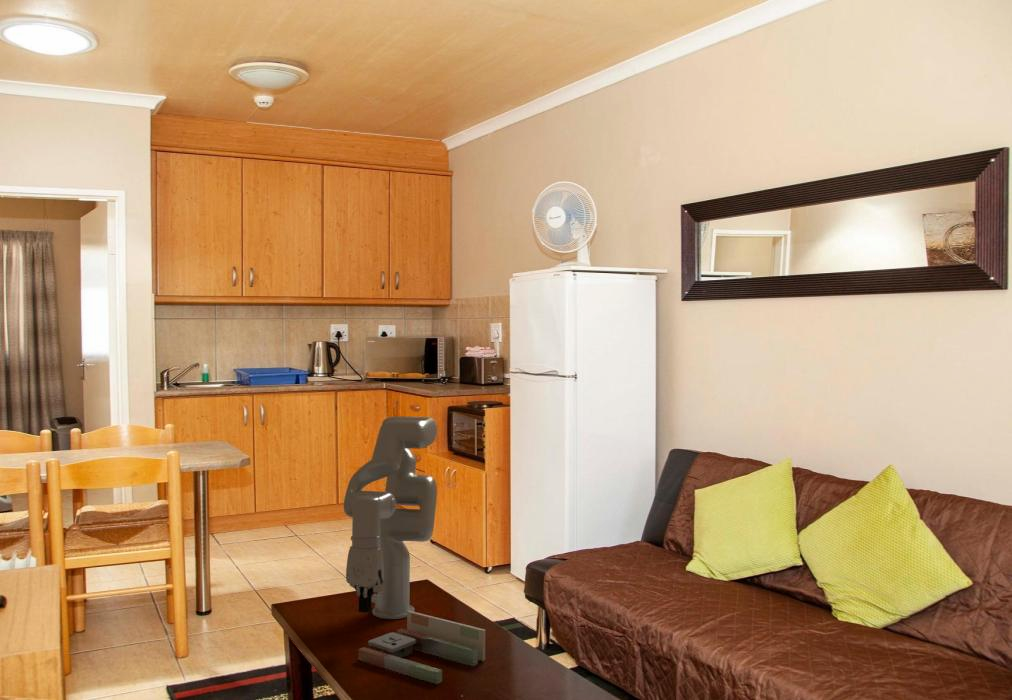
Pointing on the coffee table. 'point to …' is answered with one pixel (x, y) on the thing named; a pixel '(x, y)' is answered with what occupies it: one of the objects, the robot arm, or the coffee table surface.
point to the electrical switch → (393, 644)
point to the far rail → (442, 648)
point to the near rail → (400, 665)
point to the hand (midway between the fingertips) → (364, 611)
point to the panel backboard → (448, 631)
